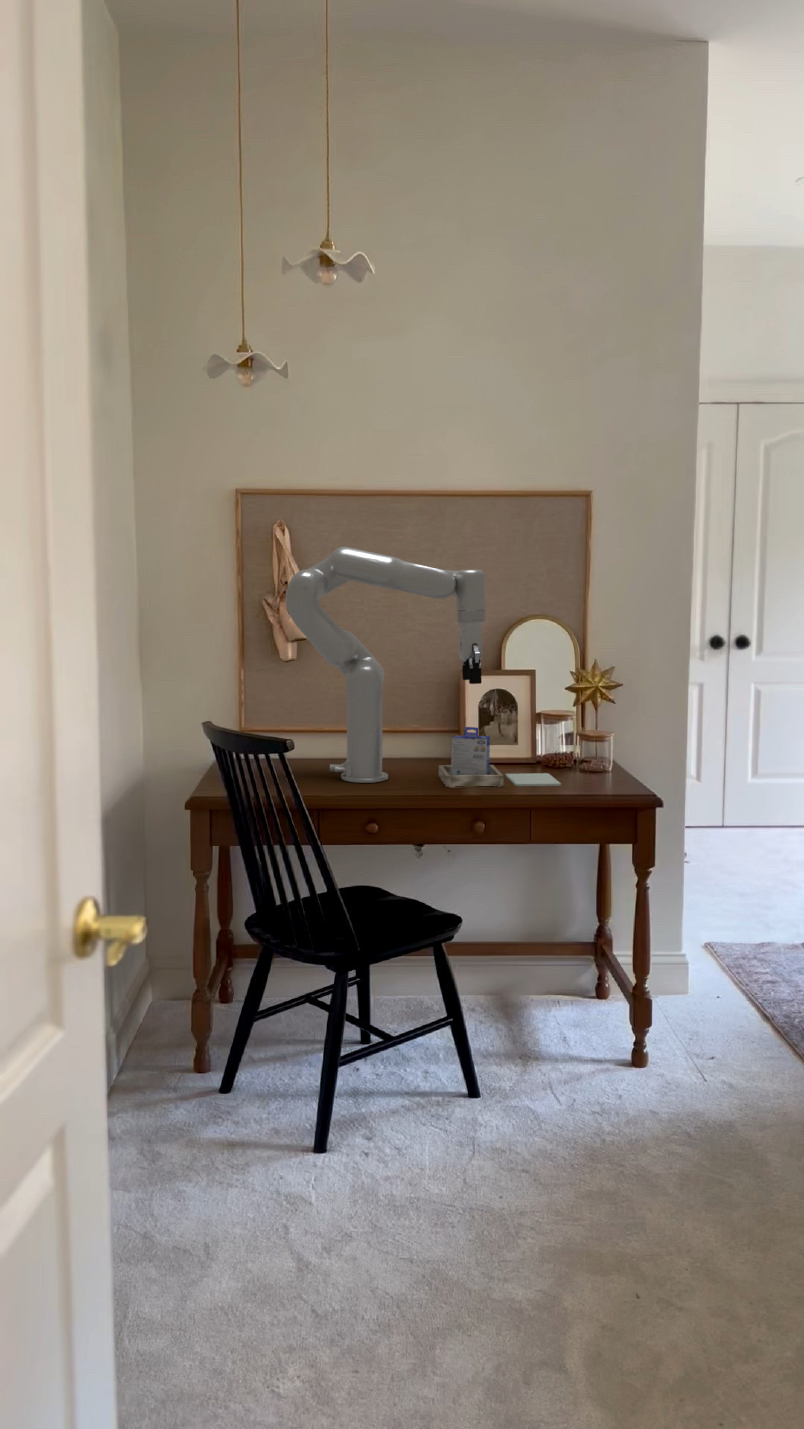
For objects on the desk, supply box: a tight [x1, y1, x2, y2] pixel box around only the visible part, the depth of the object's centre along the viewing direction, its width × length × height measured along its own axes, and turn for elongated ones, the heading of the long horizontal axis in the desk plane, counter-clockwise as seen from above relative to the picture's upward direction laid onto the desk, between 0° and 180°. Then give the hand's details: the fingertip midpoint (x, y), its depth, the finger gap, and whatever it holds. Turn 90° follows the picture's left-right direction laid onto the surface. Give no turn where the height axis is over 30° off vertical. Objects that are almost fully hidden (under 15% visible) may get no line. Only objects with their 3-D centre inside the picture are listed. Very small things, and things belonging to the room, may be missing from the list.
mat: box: [505, 772, 562, 787], centre depth 295 cm, size 12×14×1 cm
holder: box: [438, 764, 504, 788], centre depth 293 cm, size 15×15×3 cm
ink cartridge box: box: [450, 726, 491, 775], centre depth 292 cm, size 10×6×14 cm, turn 79°
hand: (471, 681), depth 290 cm, fingers open, 9 cm apart
